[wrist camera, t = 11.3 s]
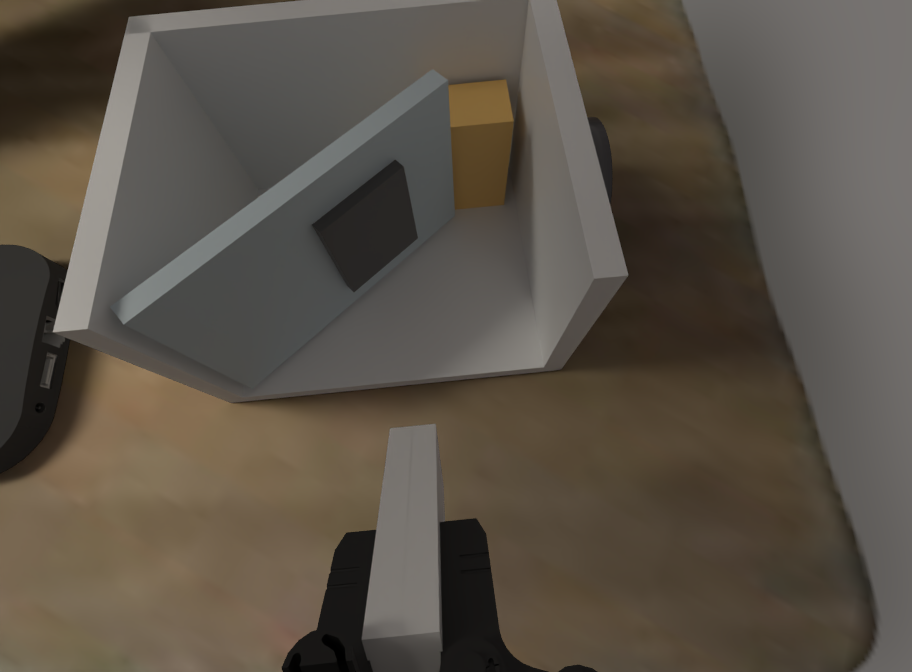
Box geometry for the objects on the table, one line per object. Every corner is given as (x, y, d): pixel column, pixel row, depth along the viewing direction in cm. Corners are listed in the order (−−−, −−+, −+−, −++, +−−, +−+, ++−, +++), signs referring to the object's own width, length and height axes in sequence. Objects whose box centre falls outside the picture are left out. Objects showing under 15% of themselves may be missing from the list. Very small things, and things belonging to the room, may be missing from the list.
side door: (461, 221, 29) (457, 87, 19) (258, 396, 25) (132, 335, 16) (444, 207, 29) (432, 69, 20) (242, 377, 25) (109, 306, 16)
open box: (587, 367, 26) (674, 271, 15) (230, 402, 26) (52, 332, 15) (543, 157, 32) (583, -27, 21) (248, 186, 32) (128, 16, 21)
